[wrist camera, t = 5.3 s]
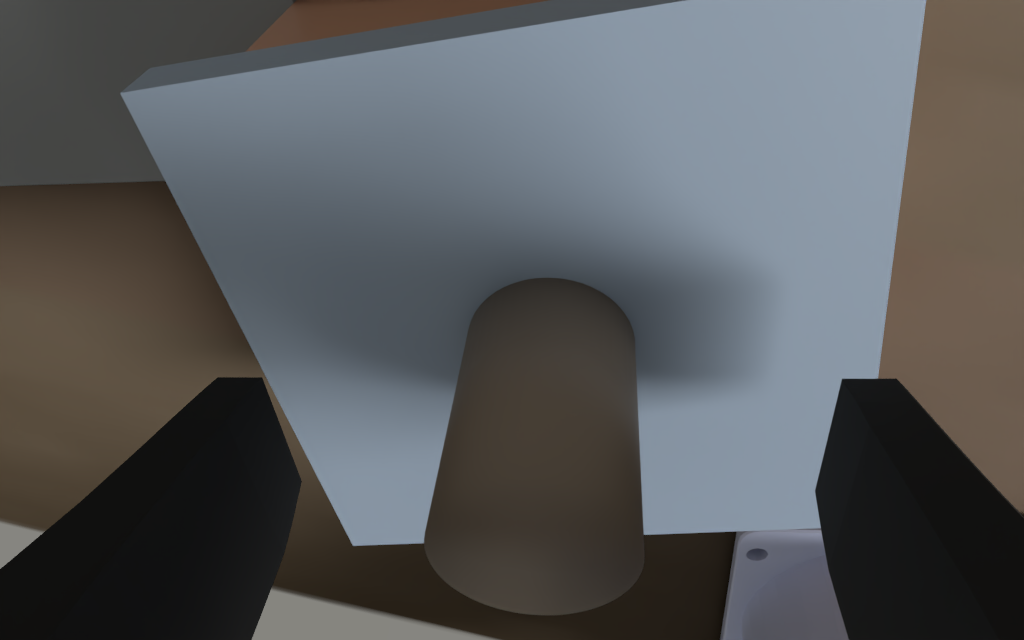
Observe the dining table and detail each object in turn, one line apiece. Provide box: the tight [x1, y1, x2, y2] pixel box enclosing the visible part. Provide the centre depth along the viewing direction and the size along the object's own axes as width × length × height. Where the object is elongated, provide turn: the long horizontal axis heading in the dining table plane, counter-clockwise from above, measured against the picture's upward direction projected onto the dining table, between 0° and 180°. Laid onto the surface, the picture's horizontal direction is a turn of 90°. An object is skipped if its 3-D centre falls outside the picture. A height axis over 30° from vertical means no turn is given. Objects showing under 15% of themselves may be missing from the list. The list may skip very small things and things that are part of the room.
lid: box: [120, 0, 926, 615], centre depth 10 cm, size 9×9×4 cm
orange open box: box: [246, 0, 549, 52], centre depth 13 cm, size 8×8×4 cm
